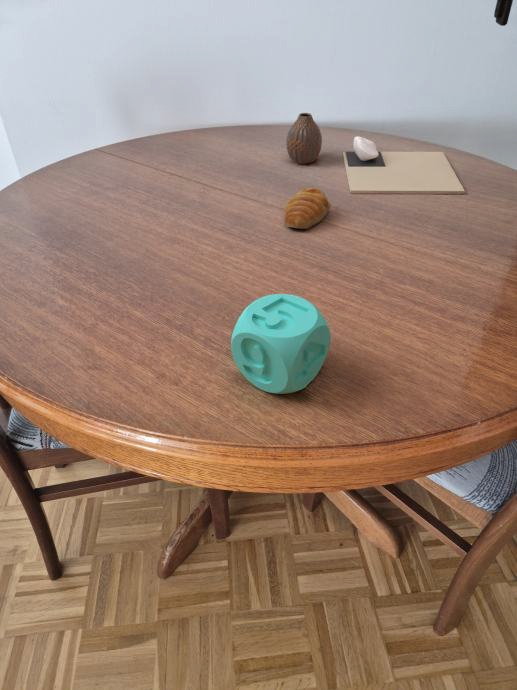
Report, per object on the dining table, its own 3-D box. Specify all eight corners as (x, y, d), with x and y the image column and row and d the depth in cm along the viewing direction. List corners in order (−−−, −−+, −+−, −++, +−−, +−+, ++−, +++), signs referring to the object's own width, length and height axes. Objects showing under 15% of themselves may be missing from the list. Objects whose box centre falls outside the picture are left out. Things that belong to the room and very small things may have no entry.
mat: (442, 154, 109) (443, 150, 109) (464, 194, 96) (465, 189, 95) (342, 154, 110) (342, 150, 110) (350, 193, 97) (350, 189, 96)
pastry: (314, 235, 85) (315, 213, 83) (274, 228, 87) (274, 206, 85) (332, 210, 92) (333, 188, 89) (294, 203, 94) (295, 182, 91)
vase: (326, 157, 109) (329, 112, 103) (310, 169, 105) (312, 123, 99) (296, 151, 112) (298, 106, 106) (279, 162, 107) (280, 116, 102)
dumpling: (347, 154, 109) (352, 133, 107) (372, 158, 110) (377, 138, 108) (354, 161, 103) (359, 139, 101) (380, 166, 103) (386, 144, 102)
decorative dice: (328, 365, 63) (334, 310, 57) (288, 406, 58) (290, 349, 53) (273, 338, 66) (273, 284, 61) (231, 374, 62) (227, 319, 57)
